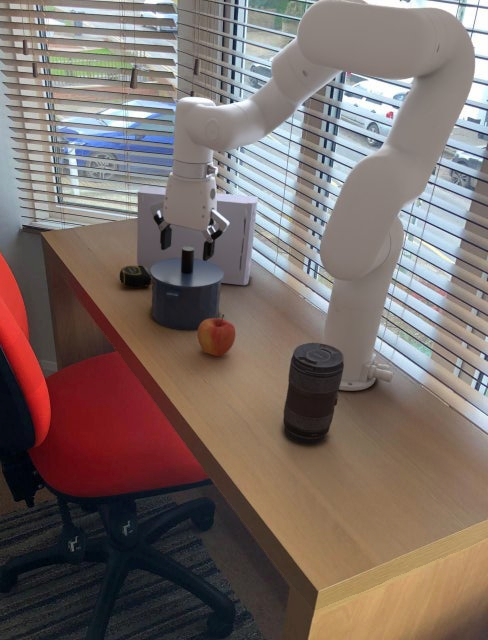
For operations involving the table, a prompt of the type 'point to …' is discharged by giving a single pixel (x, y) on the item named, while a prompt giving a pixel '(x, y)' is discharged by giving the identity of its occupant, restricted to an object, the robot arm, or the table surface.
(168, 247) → the robot arm
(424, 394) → the table surface
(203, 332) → the apple
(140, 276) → the tape measure
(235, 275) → the game console
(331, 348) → the camera lens
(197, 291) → the pot
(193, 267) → the lid
